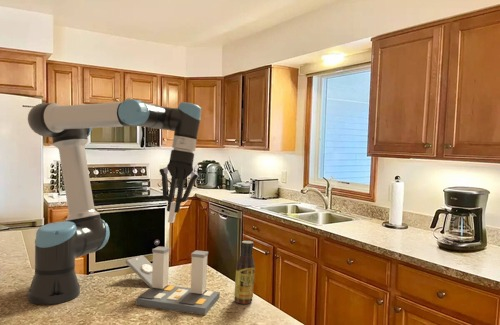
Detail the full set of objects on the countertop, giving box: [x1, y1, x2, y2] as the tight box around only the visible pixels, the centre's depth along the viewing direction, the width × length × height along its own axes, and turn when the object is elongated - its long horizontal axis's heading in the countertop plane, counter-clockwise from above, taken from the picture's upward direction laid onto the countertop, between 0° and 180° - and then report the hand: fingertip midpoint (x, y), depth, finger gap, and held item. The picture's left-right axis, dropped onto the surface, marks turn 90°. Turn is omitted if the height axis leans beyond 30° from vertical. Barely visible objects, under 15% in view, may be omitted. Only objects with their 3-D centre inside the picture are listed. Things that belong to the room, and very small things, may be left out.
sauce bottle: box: [233, 240, 256, 305], centre depth 123 cm, size 7×6×20 cm
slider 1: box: [151, 246, 171, 289], centre depth 127 cm, size 4×4×13 cm
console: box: [135, 284, 221, 316], centre depth 121 cm, size 23×14×2 cm, turn 77°
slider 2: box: [190, 249, 209, 294], centre depth 124 cm, size 4×4×13 cm
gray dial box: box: [124, 255, 153, 288], centre depth 139 cm, size 8×6×14 cm
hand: (171, 222), depth 121 cm, fingers closed
